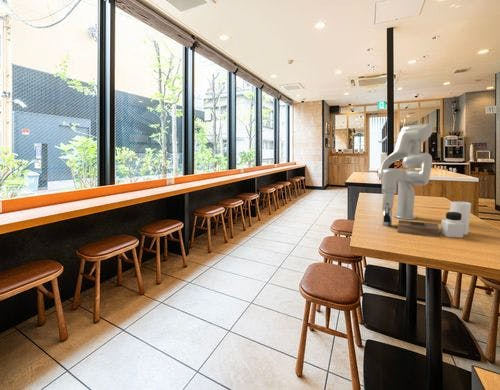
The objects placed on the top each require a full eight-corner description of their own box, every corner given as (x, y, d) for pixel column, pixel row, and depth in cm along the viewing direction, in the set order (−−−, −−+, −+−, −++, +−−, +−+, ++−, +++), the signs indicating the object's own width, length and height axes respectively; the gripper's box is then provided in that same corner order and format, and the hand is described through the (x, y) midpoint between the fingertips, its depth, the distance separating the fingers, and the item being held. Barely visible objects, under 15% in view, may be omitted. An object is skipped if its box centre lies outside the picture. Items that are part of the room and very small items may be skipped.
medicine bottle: (463, 238, 125) (466, 214, 122) (446, 237, 126) (449, 214, 124) (455, 232, 131) (458, 210, 129) (439, 232, 133) (442, 210, 131)
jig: (398, 226, 147) (399, 219, 146) (437, 231, 137) (437, 223, 136) (397, 232, 137) (397, 224, 136) (438, 237, 127) (439, 228, 126)
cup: (449, 229, 140) (452, 200, 137) (468, 232, 134) (472, 202, 131) (446, 232, 134) (449, 203, 131) (467, 235, 128) (470, 204, 126)
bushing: (383, 224, 153) (383, 209, 152) (391, 225, 151) (392, 210, 149) (382, 225, 149) (383, 211, 148) (391, 226, 147) (391, 211, 146)
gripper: (383, 188, 156) (381, 217, 159) (380, 192, 142) (378, 223, 145) (397, 189, 152) (395, 218, 155) (395, 193, 138) (393, 225, 140)
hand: (387, 220), depth 150 cm, fingers open, 5 cm apart
